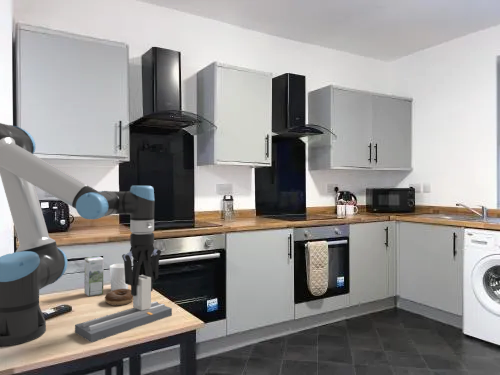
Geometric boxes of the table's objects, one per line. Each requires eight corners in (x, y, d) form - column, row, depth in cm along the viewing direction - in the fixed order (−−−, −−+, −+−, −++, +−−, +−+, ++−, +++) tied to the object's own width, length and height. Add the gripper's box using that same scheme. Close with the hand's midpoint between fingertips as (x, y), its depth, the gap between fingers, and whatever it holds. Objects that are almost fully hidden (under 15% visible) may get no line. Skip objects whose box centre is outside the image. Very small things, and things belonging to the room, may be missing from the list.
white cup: (123, 292, 149) (123, 268, 149) (105, 291, 151) (105, 267, 151) (133, 287, 157) (133, 263, 157) (116, 286, 159) (116, 262, 158)
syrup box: (99, 290, 152) (99, 255, 151) (103, 294, 147) (103, 258, 147) (84, 293, 148) (84, 257, 148) (88, 297, 143) (88, 259, 143)
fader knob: (133, 310, 122) (133, 276, 122) (142, 307, 125) (142, 274, 125) (141, 313, 119) (141, 279, 119) (150, 310, 122) (151, 276, 121)
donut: (124, 295, 146) (124, 285, 146) (140, 301, 140) (140, 290, 140) (99, 302, 138) (99, 292, 138) (115, 308, 131) (115, 297, 131)
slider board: (74, 332, 110) (74, 321, 110) (154, 308, 131) (154, 299, 131) (91, 342, 104) (91, 330, 104) (171, 315, 125) (171, 305, 125)
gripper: (125, 236, 113) (125, 312, 113) (170, 231, 125) (169, 299, 126) (112, 233, 117) (112, 307, 118) (156, 229, 130) (156, 295, 130)
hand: (142, 303), depth 122 cm, fingers closed on fader knob, 3 cm apart
